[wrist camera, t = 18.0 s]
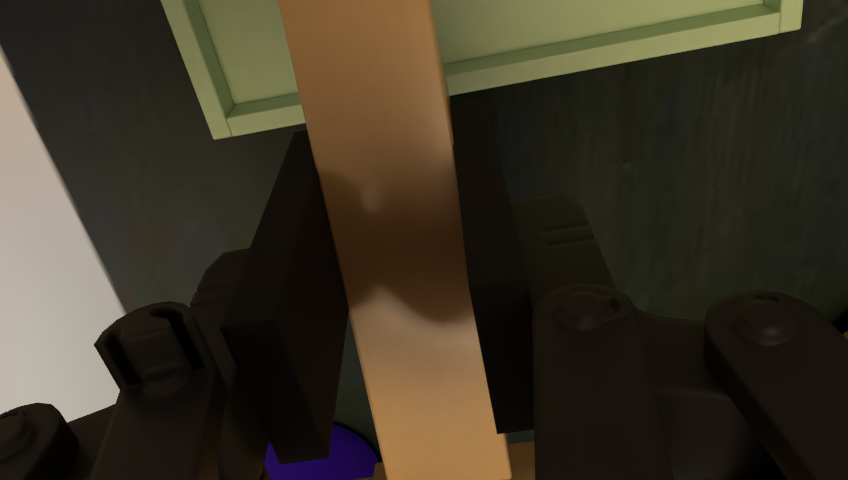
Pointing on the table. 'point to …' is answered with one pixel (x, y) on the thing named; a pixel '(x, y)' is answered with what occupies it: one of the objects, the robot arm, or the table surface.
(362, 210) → the wooden mallet
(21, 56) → the table surface
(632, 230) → the table surface
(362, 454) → the bottle
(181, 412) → the robot arm
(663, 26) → the tray
